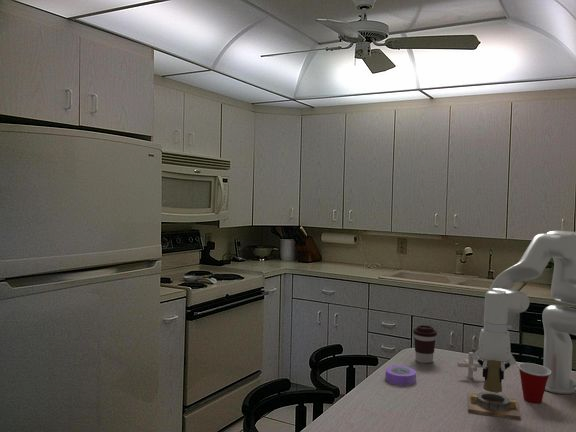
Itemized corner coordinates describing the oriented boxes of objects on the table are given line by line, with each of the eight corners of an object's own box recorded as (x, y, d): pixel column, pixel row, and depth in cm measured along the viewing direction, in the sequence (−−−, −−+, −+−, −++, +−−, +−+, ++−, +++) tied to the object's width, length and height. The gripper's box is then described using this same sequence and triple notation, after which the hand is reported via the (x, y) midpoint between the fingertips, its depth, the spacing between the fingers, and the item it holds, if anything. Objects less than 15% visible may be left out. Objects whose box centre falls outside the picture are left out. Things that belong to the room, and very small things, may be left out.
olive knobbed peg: (501, 387, 179) (503, 356, 179) (502, 393, 174) (504, 361, 173) (482, 385, 181) (484, 354, 181) (483, 390, 176) (485, 358, 175)
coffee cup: (413, 363, 223) (414, 329, 222) (411, 356, 233) (412, 323, 232) (437, 365, 221) (438, 330, 221) (434, 358, 231) (435, 324, 231)
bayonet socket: (515, 401, 183) (516, 393, 183) (520, 419, 168) (520, 410, 168) (467, 395, 188) (468, 386, 188) (468, 412, 173) (468, 403, 173)
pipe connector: (487, 382, 202) (488, 357, 201) (461, 381, 202) (462, 356, 202) (478, 373, 212) (479, 349, 211) (454, 372, 212) (454, 348, 212)
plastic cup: (536, 409, 177) (537, 374, 176) (509, 397, 186) (511, 365, 186) (557, 403, 182) (558, 370, 181) (530, 393, 191) (531, 361, 191)
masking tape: (410, 387, 195) (411, 377, 195) (381, 381, 201) (381, 371, 201) (419, 378, 205) (419, 369, 205) (391, 373, 211) (391, 363, 211)
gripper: (520, 327, 178) (518, 380, 178) (469, 322, 183) (467, 373, 184) (523, 332, 171) (520, 387, 171) (469, 327, 176) (467, 380, 177)
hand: (492, 379), depth 178 cm, fingers closed on olive knobbed peg, 4 cm apart
